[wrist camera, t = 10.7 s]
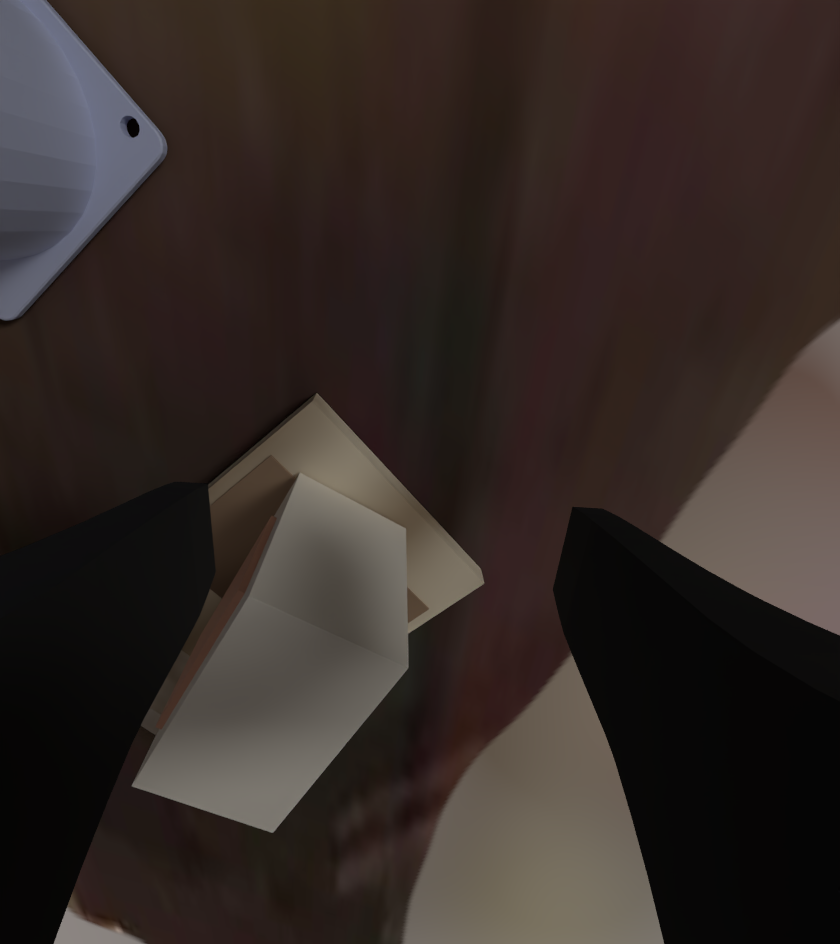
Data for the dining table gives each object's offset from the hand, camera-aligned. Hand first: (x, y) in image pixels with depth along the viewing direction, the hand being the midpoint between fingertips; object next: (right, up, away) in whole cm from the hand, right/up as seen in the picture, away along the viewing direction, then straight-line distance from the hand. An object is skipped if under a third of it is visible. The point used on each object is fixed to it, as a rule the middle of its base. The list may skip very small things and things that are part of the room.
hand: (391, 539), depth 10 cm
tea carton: (-4, -3, +10) cm, 11 cm away
